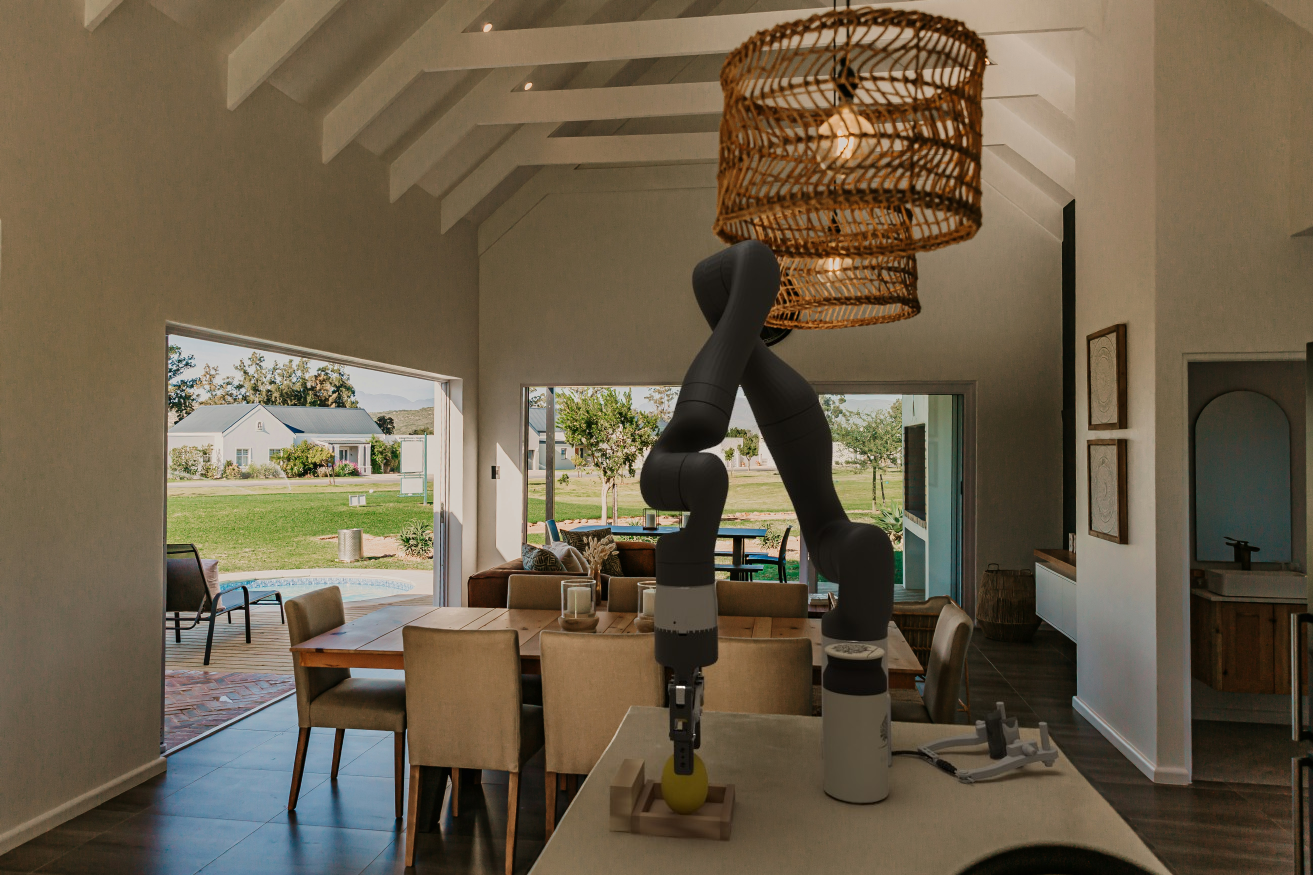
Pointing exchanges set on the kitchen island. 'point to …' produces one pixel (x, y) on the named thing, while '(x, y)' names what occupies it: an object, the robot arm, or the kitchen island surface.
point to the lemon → (684, 787)
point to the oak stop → (626, 793)
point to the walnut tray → (702, 824)
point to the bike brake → (992, 747)
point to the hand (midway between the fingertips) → (687, 760)
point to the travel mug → (855, 723)
